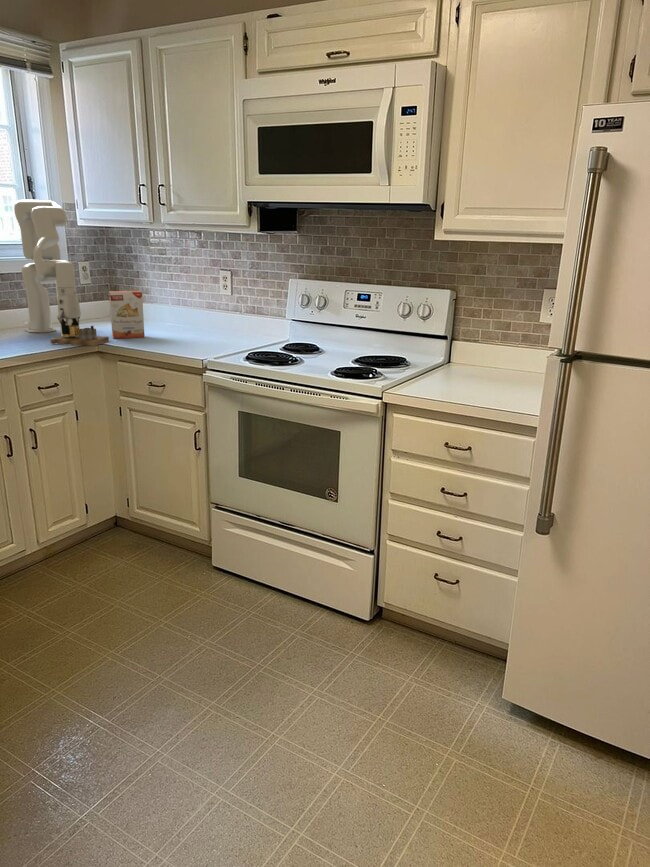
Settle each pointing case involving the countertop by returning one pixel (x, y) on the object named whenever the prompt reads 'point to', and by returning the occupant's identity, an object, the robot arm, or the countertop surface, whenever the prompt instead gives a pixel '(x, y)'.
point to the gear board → (82, 338)
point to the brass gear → (73, 330)
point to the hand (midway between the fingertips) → (71, 332)
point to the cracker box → (127, 314)
